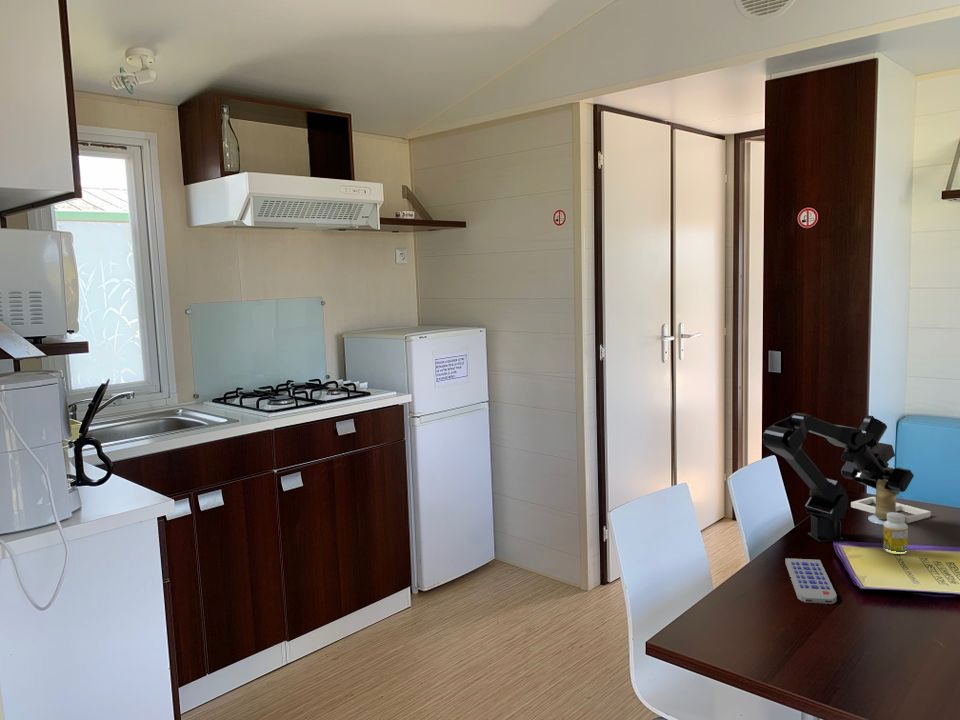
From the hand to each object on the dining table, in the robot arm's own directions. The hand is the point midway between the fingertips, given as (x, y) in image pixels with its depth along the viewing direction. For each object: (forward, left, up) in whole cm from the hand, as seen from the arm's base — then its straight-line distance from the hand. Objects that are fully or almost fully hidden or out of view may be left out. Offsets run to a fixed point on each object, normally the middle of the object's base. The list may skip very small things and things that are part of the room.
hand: (889, 491), depth 211 cm
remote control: (-44, -34, -9) cm, 57 cm away
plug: (-1, 0, -7) cm, 7 cm away
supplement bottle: (-14, -22, -9) cm, 27 cm away
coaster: (-1, 0, -8) cm, 8 cm away
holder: (+5, +7, -8) cm, 12 cm away
